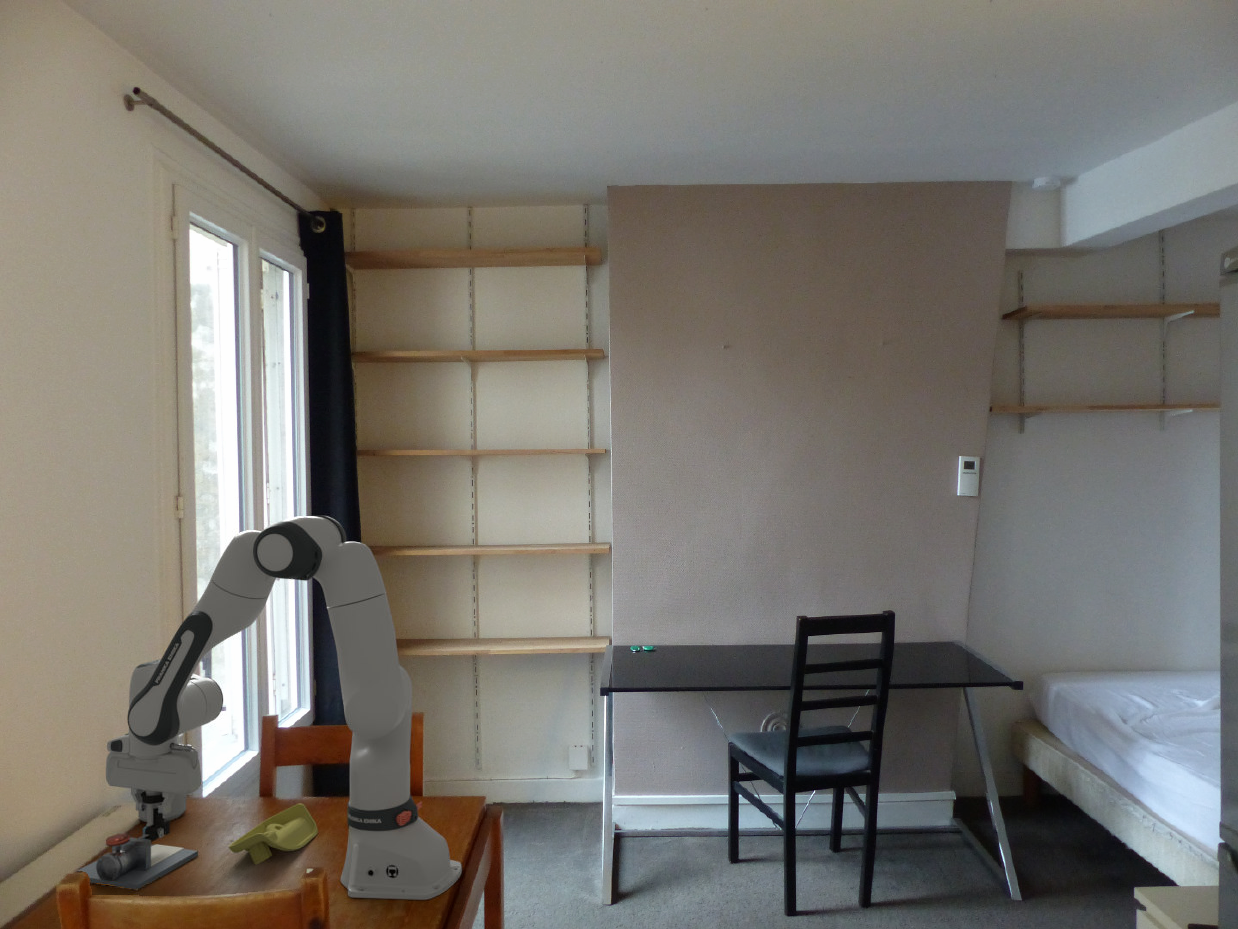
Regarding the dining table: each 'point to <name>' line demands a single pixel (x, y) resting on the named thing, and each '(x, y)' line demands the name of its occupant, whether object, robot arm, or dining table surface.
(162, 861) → the board
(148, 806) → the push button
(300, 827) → the plastic component
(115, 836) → the fitting
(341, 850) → the dining table surface
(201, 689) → the robot arm
